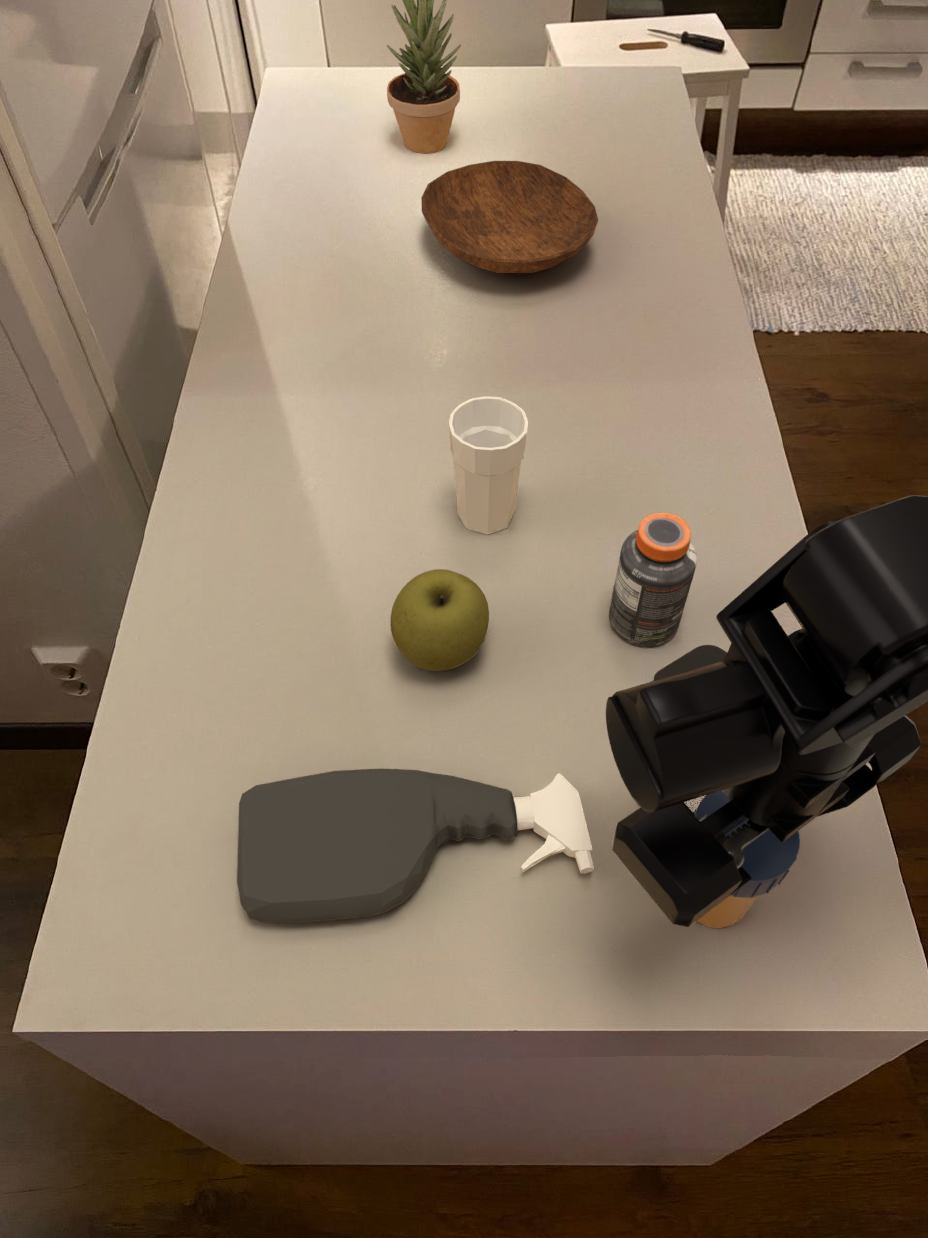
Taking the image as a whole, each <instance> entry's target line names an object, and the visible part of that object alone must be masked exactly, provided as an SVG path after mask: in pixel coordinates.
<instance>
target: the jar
mask: <svg viewBox="0 0 928 1238" xmlns="http://www.w3.org/2000/svg"><path fill="white" fill-rule="evenodd" d="M757 898H758V896H757V897H754V898H752V897H750V898H741V897H737V898H736V897H734V896H729V897H727V898H726V899H725V900H724V901H722V902H721V903H720V904H718V905H717V906H716V907H714V908H713V909H712V910H710V911H709V912H708V913H706V914H705V915H704V916H702V917H701V918H700V919H698V920H697V921H696V922H697V923H699V924H701V925H703V926H705V927H708V928H713V929H715V928H716V929H721V928H727V927H731V926H733V925H736V924H737V923H738V922H740V921H741V920H742V919H743V918H744V917H745V915H746V914H747V913H748V911H749V910H750V908H751V907H752V905H753V904H754V902H755V901H756V899H757Z"/></svg>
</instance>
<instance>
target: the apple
mask: <svg viewBox="0 0 928 1238" xmlns="http://www.w3.org/2000/svg"><path fill="white" fill-rule="evenodd" d="M489 622H490V610H489V603H488V599H487V597H486V595H485V593H484V591H483V590H482V589H481V588H480V587H479V585H478V584H477V583H476V582H475V581H474V580H472V579H471V578H470V577H467V576H466V575H464V574H461V573H459V572H456V571H453V570H450V569H444V568H443V569H442V568H437V569H431V570H427V571H424V572H421V573H419V574H418V575H416V576H414V577H413V578H411V579H410V580H409V581H408V582H406V584H405V585H404V586H403V587H402V588H401V590H400V591H399V593H398V594H397V595H396V597H395V599H394V601H393V605H392V607H391V613H390V625H389V626H390V632H391V633H390V634H391V637H392V639H393V642H394V644H395V646H396V648H397V649H398V651H399V652H400V654H401V655H402V656H403V657H404V658H405V659H406V660H407V661H409V662H410V664H412V665H414V666H415V667H418V668H420V669H422V670H425V671H431V672H442V671H443V672H444V671H448V670H452V669H455V668H458V667H460V666H462V665H464V664H465V663H467V662H468V661H470V660H471V659H472V658H473V657H474V656H475V655H476V654H477V652H478V651H479V650H481V649H480V648H481V647H482V645H483V643H484V641H485V638H486V636H487V634H488V633H487V632H488V629H489Z"/></svg>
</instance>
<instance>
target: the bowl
mask: <svg viewBox="0 0 928 1238" xmlns="http://www.w3.org/2000/svg"><path fill="white" fill-rule="evenodd" d="M420 199H421V214H422V215H423V218H424V219H425V222H426V223H427V225H428V227H429V228H430V230H431V231H432V233H433V235H434V237H435V238H436V240H437V242H438V243H440V245H442V246H443V247H444V248H445V249H446V250H448V251H449V252H450V253H451V254H452V255H453V256H454V257H456V258H459V259H461V260H462V261H464V262H466V263H469V264H470V265H472V266H474V267H476V268H479V269H482V270H486V271H489V272H492V273H496V274H533V273H537V272H541V271H545V270H547V269H548V270H549V269H552V268H553V267H555V266H557V265H559V264H561V263H562V262H564V261H565V260H567V259H569V258H571V257H573V256H574V255H576V254H577V253H578V252H579V251H580V250H581V249H582V248H583V247H585V246H586V245H587V243H589V241H590V240H591V239H592V237H593V236H594V235H595V233H596V232H595V231H596V230H597V226H598V223H599V217H598V213H597V209H596V206H595V204H593V202H592V201H591V199H590V198H589V197H588V195H587V194H586V193H585V191H584V190H583V189H581V188H580V187H579V186H578V185H577V184H575V182H573V181H572V180H571V179H569V178H568V177H567V176H565V175H563V174H560V173H559V172H557V171H554V170H552V169H550V168H548V167H546V166H544V165H542V164H537V163H532V162H526V161H521V160H491V161H490V160H489V161H484V162H479V163H478V162H477V163H471V164H467V165H464V166H461V167H458V168H455V169H452V170H448V171H446V172H444V173H443V174H441V175H440V176H437V178H435V179H433V180H432V181H430V182H429V183H427V185H426V187H425V189H424V191H423V194H421V198H420Z"/></svg>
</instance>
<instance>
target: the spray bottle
mask: <svg viewBox="0 0 928 1238" xmlns="http://www.w3.org/2000/svg"><path fill="white" fill-rule="evenodd" d="M582 804H583V803H582V800H581V795H580V792H579V791H578V790H577V789H576V788H575V787H574V786H573V785H572V784H571V783H570V782H569V781H568V779H566V777H565V776H563V774H561V773H560V772H558V773H557V774H556V775H555V776H554V778H553V779H552V781H551V782H550V783H549V784H548V785H546V786H545V787H543V788H542V789H539V790H537V791H534V792H531V793H529V795H526V796H516V797H515V796H514V794H513V792H512V790H509V789H507V788H503V787H498V786H495V785H491V784H487V783H483V782H479V781H475V780H472V779H467V778H463V777H459V776H456V775H448V774H441V773H433V772H429V771H423V770H419V769H405V768H403V769H401V768H365V769H345V770H331V771H326V772H320V773H313V774H308V775H304V776H298V777H293V778H292V777H291V778H288V779H287V778H286V779H282V780H276V781H272V782H267V783H260V784H256V785H254V786H253V787H251V788H249V789H248V790H246V791H244V792H242V793H241V796H240V800H239V803H238V829H237V831H238V832H237V861H236V862H237V866H236V868H237V869H236V885H237V888H238V895H239V901H240V905H241V907H242V909H243V911H244V912H245V913H246V916H247V917H248V919H250V920H254V921H258V922H261V923H307V922H320V921H334V920H346V919H347V920H348V919H359V918H367V917H372V916H376V915H381V914H382V915H383V914H385V913H387V912H389V911H391V910H392V909H394V908H396V907H398V906H399V905H401V904H403V903H404V902H405V901H406V900H407V899H408V898H409V897H410V896H411V895H412V894H413V893H414V891H416V888H417V887H418V886H419V885H420V883H421V882H422V880H423V879H424V877H425V876H426V874H427V872H428V870H429V867H430V865H431V863H432V860H433V859H434V856H435V854H436V852H437V850H438V848H439V846H441V845H443V844H444V843H446V842H448V841H449V840H452V841H458V842H460V841H462V840H463V839H465V838H468V837H469V838H472V839H478V840H483V839H485V838H487V837H490V836H492V835H495V836H498V837H500V838H502V839H505V840H506V841H509V842H511V841H513V840H514V839H515V838H516V837H517V836H518V831H522V830H531V829H532V830H533V832H534V833H536V834H537V835H538V836H540V837H542V838H543V839H545V842H544V843H543V844H542V845H541V846H540V847H539V848H538V849H537V850H536V851H534V852H533V853H532V854H531V855H530V856H529V857H528V858H527V859H526V860H525V861H524V862H523V864H522V865H521V866H520V870H521V871H522V872H523V873H524V872H526V871H527V870H529V869H531V868H532V867H534V866H535V865H537V864H538V863H540V862H543V860H545V859H546V858H548V857H550V856H553V855H557V854H560V853H564V854H565V855H566V856H567V857H570V858H575V861H576V863H577V867H578V870H579V873H580V874H589V873H591V872H593V871H594V869H595V866H594V862H593V857H592V854H593V845H592V842H591V837H590V834H589V829H588V825H587V821H586V817H585V812H584V808H583V805H582Z"/></svg>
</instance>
